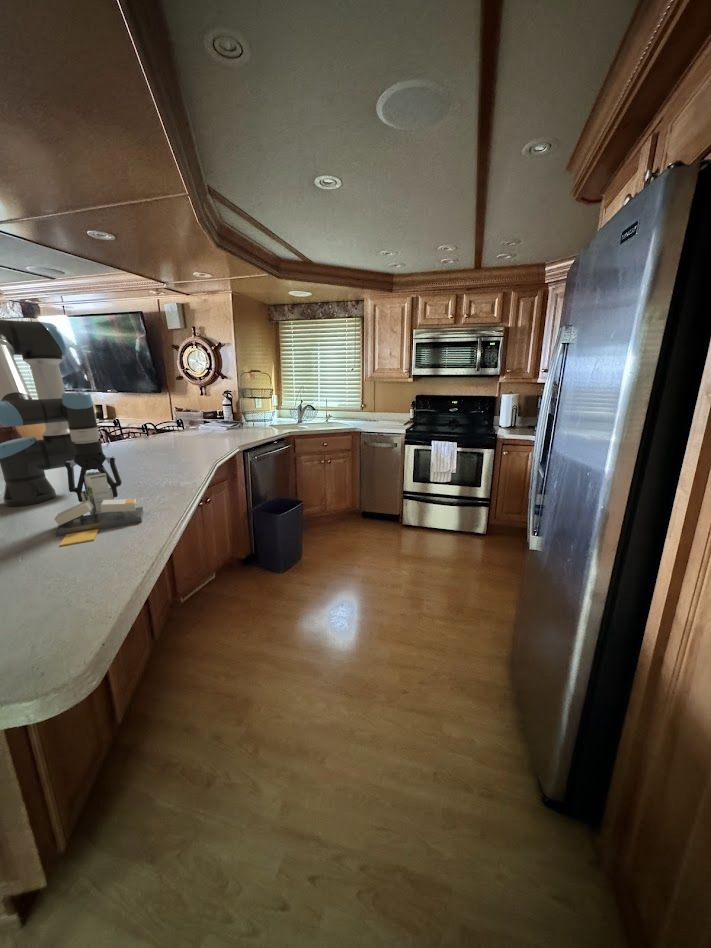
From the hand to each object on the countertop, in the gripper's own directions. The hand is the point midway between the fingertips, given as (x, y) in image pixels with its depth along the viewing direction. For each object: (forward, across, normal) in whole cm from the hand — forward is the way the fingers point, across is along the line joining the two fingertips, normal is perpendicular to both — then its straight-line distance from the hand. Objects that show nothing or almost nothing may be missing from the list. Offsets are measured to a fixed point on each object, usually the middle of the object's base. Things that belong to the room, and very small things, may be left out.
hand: (100, 508), depth 126 cm
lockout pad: (+2, -3, -20) cm, 20 cm away
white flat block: (-1, -4, -10) cm, 11 cm away
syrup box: (+2, 0, 0) cm, 2 cm away
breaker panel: (+2, +2, -10) cm, 10 cm away
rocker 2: (-1, +6, -10) cm, 12 cm away
